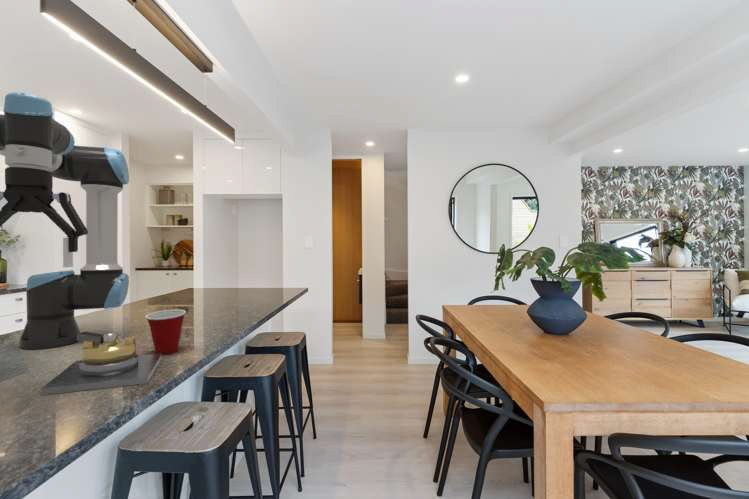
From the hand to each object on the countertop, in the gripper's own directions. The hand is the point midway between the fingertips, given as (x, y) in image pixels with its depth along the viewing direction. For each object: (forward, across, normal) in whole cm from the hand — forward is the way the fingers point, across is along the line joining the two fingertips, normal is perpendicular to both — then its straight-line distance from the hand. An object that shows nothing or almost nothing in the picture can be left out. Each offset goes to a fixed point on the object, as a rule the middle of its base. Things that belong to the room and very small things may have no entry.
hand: (30, 267), depth 81 cm
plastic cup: (+28, +21, +26) cm, 44 cm away
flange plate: (+28, +12, +9) cm, 31 cm away
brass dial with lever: (+23, +9, +11) cm, 28 cm away
